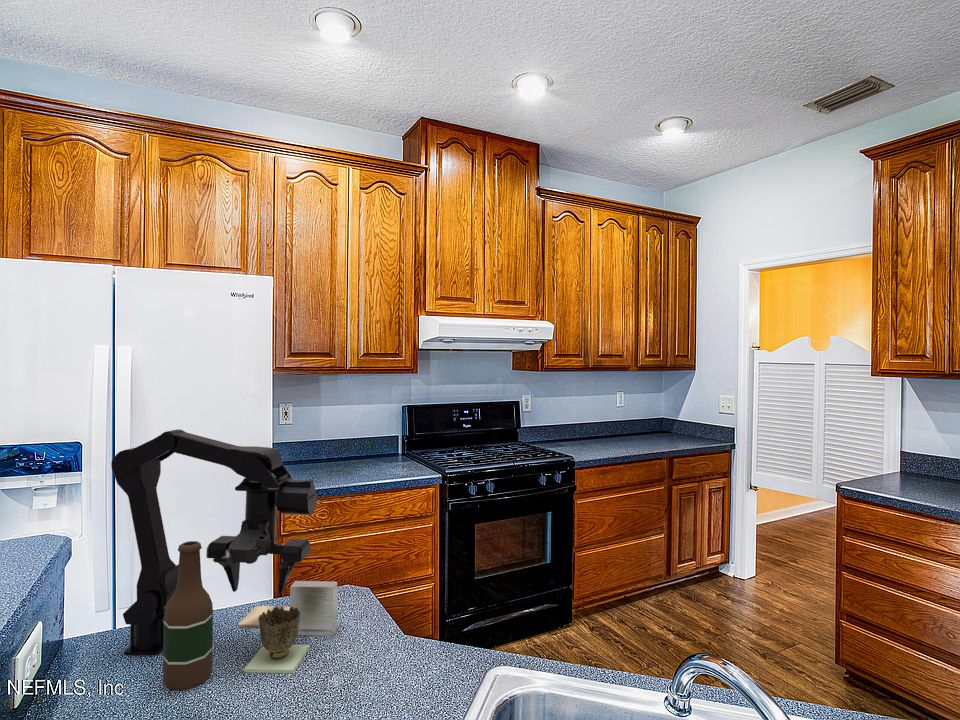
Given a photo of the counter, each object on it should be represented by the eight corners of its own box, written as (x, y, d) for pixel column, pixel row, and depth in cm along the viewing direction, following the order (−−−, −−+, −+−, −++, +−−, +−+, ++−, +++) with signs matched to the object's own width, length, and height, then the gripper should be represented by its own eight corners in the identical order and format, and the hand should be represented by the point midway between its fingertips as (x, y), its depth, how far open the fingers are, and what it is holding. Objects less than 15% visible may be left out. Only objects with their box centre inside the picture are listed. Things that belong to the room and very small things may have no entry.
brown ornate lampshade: (306, 647, 107) (306, 606, 107) (289, 668, 100) (289, 624, 100) (269, 645, 108) (270, 604, 108) (250, 665, 101) (251, 621, 101)
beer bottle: (165, 672, 99) (167, 539, 100) (213, 663, 102) (215, 534, 103) (159, 696, 92) (161, 552, 93) (210, 685, 95) (213, 547, 96)
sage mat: (244, 672, 100) (244, 669, 100) (264, 647, 109) (264, 644, 109) (293, 673, 99) (293, 669, 99) (309, 647, 108) (309, 644, 108)
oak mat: (237, 627, 117) (237, 624, 117) (255, 608, 126) (256, 606, 126) (279, 628, 117) (279, 625, 117) (294, 609, 126) (295, 606, 126)
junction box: (286, 635, 114) (286, 587, 114) (294, 623, 119) (295, 578, 119) (334, 635, 113) (334, 588, 113) (340, 624, 118) (341, 578, 118)
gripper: (191, 522, 101) (188, 607, 101) (291, 526, 100) (288, 612, 100) (222, 507, 112) (219, 583, 112) (312, 510, 111) (310, 588, 111)
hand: (257, 592), depth 108 cm, fingers open, 9 cm apart
